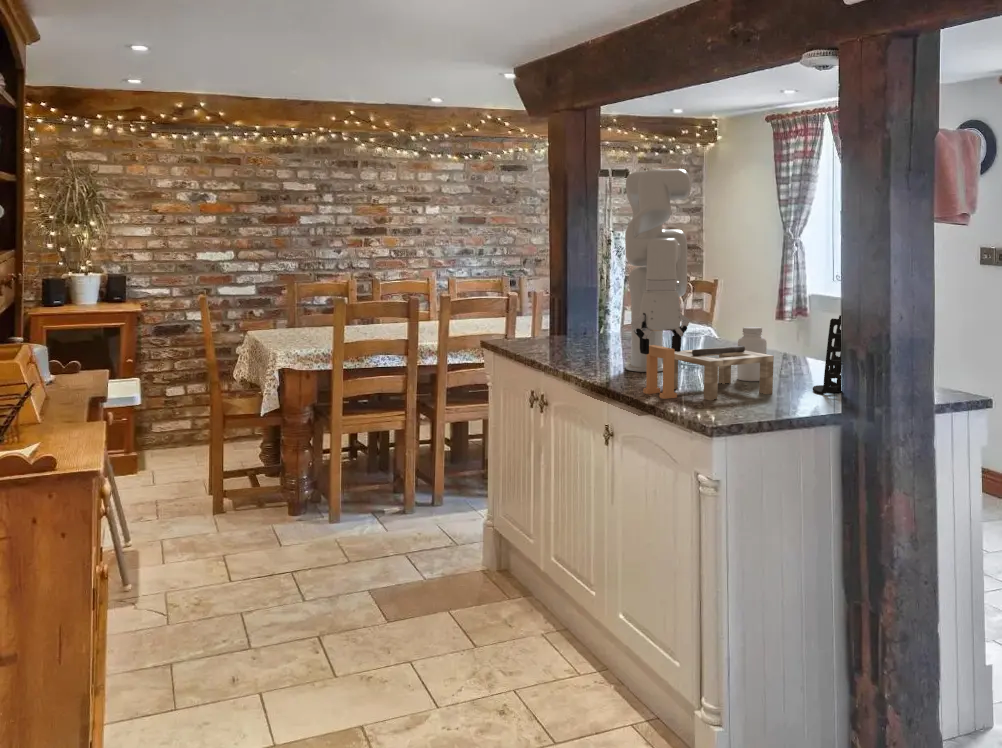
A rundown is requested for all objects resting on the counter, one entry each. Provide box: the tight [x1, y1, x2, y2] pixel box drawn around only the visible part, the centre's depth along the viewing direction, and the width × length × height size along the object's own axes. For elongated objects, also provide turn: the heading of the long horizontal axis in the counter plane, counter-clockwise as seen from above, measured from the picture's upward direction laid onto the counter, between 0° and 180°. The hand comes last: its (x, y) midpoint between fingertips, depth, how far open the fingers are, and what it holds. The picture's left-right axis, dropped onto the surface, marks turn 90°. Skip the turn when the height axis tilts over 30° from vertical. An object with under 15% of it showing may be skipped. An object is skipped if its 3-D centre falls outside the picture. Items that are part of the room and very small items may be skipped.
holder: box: [812, 314, 842, 396], centre depth 244 cm, size 11×8×20 cm
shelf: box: [674, 345, 774, 401], centre depth 249 cm, size 20×20×12 cm
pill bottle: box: [736, 326, 767, 382], centre depth 265 cm, size 8×8×15 cm
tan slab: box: [643, 345, 678, 400], centre depth 244 cm, size 4×10×13 cm, turn 23°
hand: (660, 352), depth 243 cm, fingers open, 9 cm apart
